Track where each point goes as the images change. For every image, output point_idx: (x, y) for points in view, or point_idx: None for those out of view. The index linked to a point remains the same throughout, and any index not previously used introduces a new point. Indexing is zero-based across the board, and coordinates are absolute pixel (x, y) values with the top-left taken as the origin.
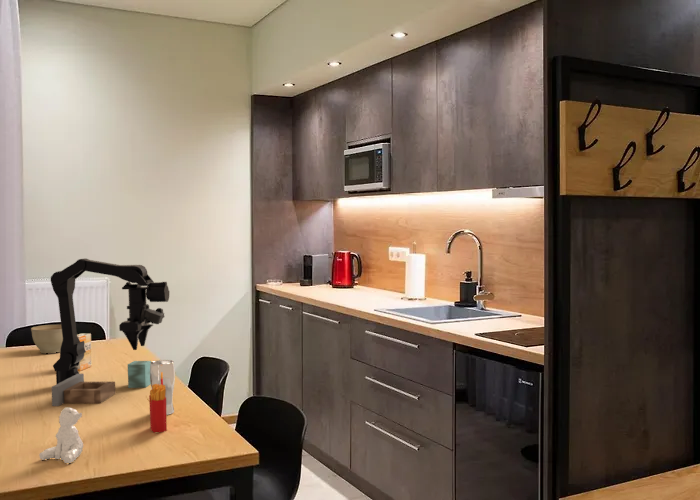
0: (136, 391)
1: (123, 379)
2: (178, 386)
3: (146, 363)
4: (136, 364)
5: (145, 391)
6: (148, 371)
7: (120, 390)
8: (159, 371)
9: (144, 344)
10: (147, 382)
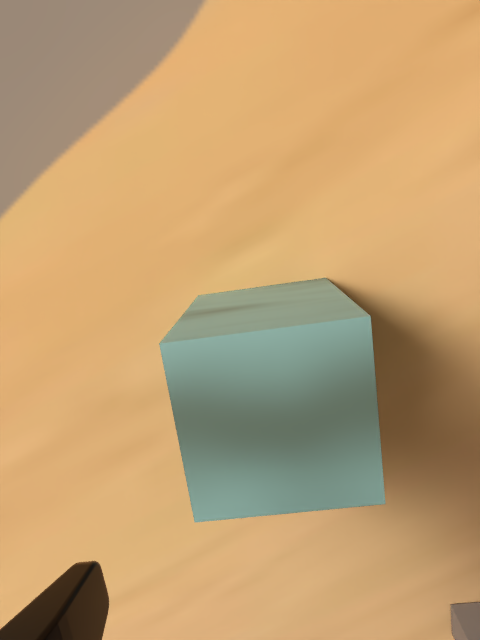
0: (431, 294)
1: (121, 532)
2: (249, 30)
3: (309, 327)
4: (374, 415)
5: (428, 227)
6: (260, 308)
7: (408, 415)
8: None
9: (73, 574)
10: (289, 287)
